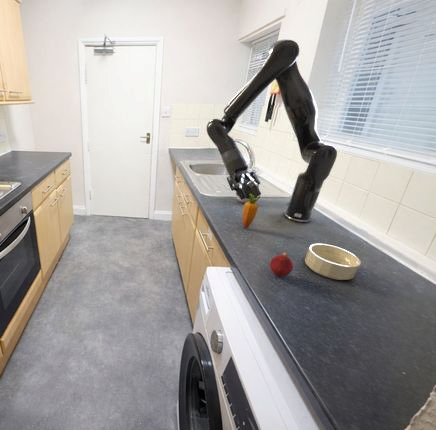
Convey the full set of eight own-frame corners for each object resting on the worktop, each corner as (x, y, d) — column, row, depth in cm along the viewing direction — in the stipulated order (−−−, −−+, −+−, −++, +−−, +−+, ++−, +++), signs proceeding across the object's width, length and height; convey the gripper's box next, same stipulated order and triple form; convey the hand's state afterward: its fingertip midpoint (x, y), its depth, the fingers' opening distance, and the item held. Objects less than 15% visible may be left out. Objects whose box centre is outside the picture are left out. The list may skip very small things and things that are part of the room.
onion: (291, 283, 78) (300, 260, 74) (270, 280, 79) (278, 257, 75) (284, 271, 83) (292, 249, 79) (264, 268, 84) (271, 247, 80)
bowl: (297, 255, 91) (302, 241, 89) (339, 260, 89) (346, 246, 87) (314, 277, 80) (320, 262, 78) (362, 285, 78) (370, 269, 75)
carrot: (253, 228, 109) (263, 194, 102) (249, 232, 106) (259, 197, 99) (241, 224, 112) (250, 191, 106) (237, 228, 109) (245, 194, 102)
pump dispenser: (236, 196, 142) (242, 169, 136) (257, 201, 137) (265, 172, 130) (231, 202, 135) (238, 173, 128) (253, 207, 129) (261, 177, 123)
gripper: (228, 158, 102) (246, 195, 98) (253, 155, 108) (271, 190, 104) (215, 168, 108) (231, 203, 104) (239, 165, 114) (255, 198, 110)
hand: (251, 197), depth 104 cm, fingers open, 8 cm apart
